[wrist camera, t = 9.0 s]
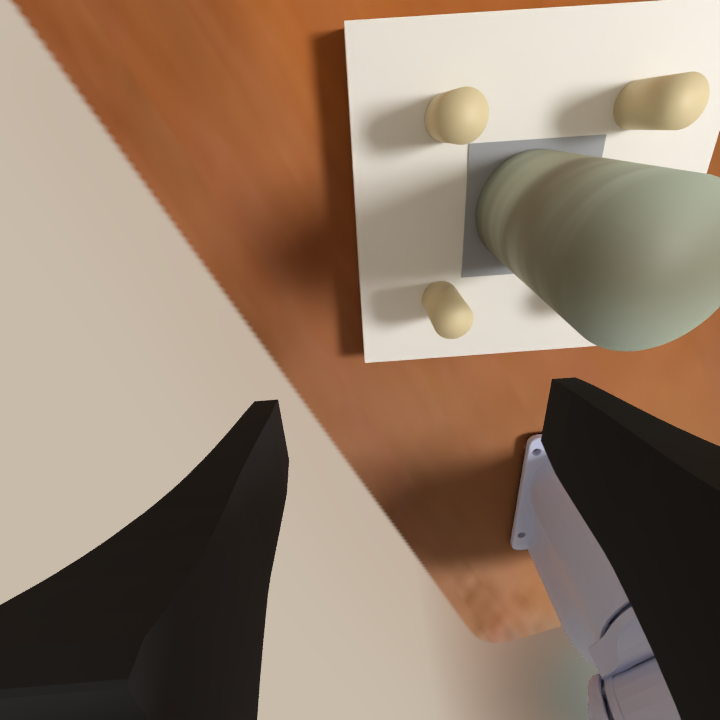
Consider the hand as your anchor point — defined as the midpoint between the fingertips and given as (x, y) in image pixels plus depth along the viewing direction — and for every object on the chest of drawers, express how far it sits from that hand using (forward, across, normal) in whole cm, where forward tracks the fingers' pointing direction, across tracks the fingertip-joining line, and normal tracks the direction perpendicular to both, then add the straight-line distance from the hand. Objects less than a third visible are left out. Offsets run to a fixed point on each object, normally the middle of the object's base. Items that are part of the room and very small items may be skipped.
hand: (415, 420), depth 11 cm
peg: (+9, -6, -4) cm, 11 cm away
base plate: (+10, -6, -4) cm, 12 cm away
